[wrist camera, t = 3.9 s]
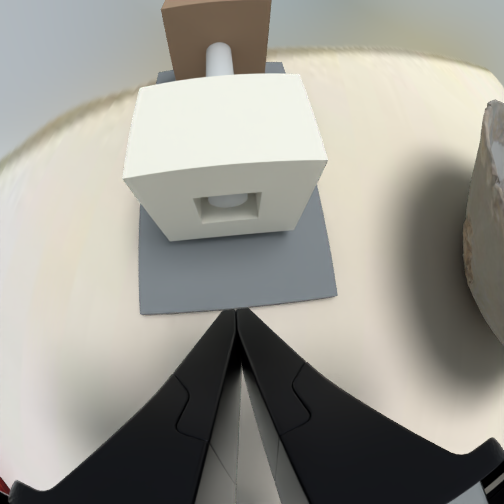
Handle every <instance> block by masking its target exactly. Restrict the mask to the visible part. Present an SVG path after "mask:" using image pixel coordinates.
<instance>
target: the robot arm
mask: <svg viewBox="0 0 504 504" xmlns="http://www.w3.org/2000/svg"><path fill="white" fill-rule="evenodd" d="M241 363H242V364H241ZM242 370H243V374H244V378H245V382H246V386H247V389H248V393H249V397H250V400H251V404H252V408H253V411H254V415H255V418H256V422H257V425H258V429H259V432H260V435H261V439H262V442H263V446H264V449H265V452H266V455H267V459H268V462H269V465H270V468H271V472H272V475H273V478H274V481H275V484H276V487H277V491H278V494H279V497H280V501H281V504H504V450H503V448H502V447H501V445H500V444H499V443H498V442H497V440H496V439H495V438H490V439H488V440H487V441H485V442H484V443H483V444H481V445H480V446H479V447H477V448H476V449H475V450H473V451H472V452H470V453H468V454H463V455H460V454H454V453H451V452H449V451H447V450H445V449H443V448H441V447H440V446H438V445H436V444H434V443H432V442H430V441H428V440H426V439H424V438H423V437H421V436H419V435H417V434H415V433H414V432H412V431H410V430H408V429H406V428H405V427H403V426H401V425H399V424H398V423H396V422H394V421H393V420H391V419H389V418H387V417H386V416H384V415H382V414H381V413H379V412H377V411H376V410H374V409H373V408H371V407H369V406H368V405H366V404H364V403H363V402H361V401H360V400H358V399H356V398H355V397H353V396H352V395H350V394H349V393H347V392H345V391H344V390H342V389H341V388H339V387H338V386H337V385H335V384H334V383H332V382H331V381H329V380H328V379H327V378H325V377H324V376H323V375H322V374H321V373H319V372H318V371H317V370H316V369H315V368H313V367H312V366H311V365H310V364H309V363H308V362H306V361H305V360H304V359H303V358H302V357H301V356H299V355H298V354H297V353H296V352H295V351H294V350H293V349H292V348H291V347H290V346H288V345H287V344H286V343H285V342H284V341H283V340H282V339H281V338H280V337H279V336H278V335H277V334H275V333H274V332H273V331H272V330H271V329H270V328H269V327H268V326H267V325H266V324H265V323H264V322H263V321H262V320H261V319H260V318H258V317H257V316H256V315H255V314H254V313H253V312H252V311H251V310H250V309H249V308H241V309H237V310H236V311H235V310H234V309H231V310H223V311H222V312H221V313H220V315H219V316H218V317H217V318H216V320H215V321H214V322H213V324H212V325H211V326H210V327H209V329H208V330H207V331H206V333H205V334H204V335H203V336H202V338H201V339H200V340H199V341H198V343H197V344H196V345H195V346H194V348H193V349H192V350H191V352H190V353H189V354H188V355H187V357H186V358H185V359H184V360H183V362H182V363H181V364H180V365H179V367H178V368H177V369H176V370H175V372H174V373H173V374H172V375H171V376H170V377H169V379H168V380H167V381H166V382H165V384H164V385H163V386H162V387H161V388H160V389H159V391H158V392H157V393H156V394H155V395H154V396H153V397H152V398H151V399H150V400H149V401H148V402H147V403H146V404H145V405H144V406H143V407H142V408H141V409H140V410H139V411H138V412H137V413H136V414H135V415H134V416H133V417H132V418H131V419H130V420H129V421H127V422H126V423H125V424H124V425H123V426H122V427H121V428H120V429H119V430H118V431H117V432H116V433H115V434H113V435H112V436H111V437H110V438H109V439H108V440H107V441H106V442H105V443H104V444H102V445H101V446H100V447H99V448H98V449H97V450H96V451H95V452H94V453H92V454H91V455H90V456H89V457H88V458H87V459H86V460H85V461H83V462H82V463H81V464H80V465H79V466H78V467H77V468H75V469H74V470H73V471H72V472H71V473H70V474H69V475H67V476H66V477H65V478H64V479H63V480H62V481H60V482H59V483H58V484H57V485H56V486H54V487H53V488H51V489H50V490H46V491H39V490H36V489H34V488H32V487H30V486H28V485H26V484H24V483H22V482H20V481H18V480H16V481H14V483H13V485H12V488H11V490H10V493H9V495H8V494H6V493H4V492H2V491H0V504H236V480H237V459H238V439H239V419H240V400H241V381H242Z"/></svg>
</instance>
